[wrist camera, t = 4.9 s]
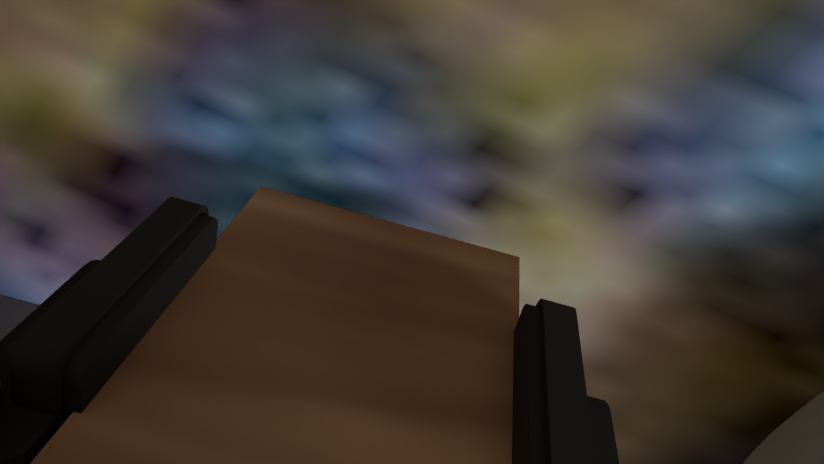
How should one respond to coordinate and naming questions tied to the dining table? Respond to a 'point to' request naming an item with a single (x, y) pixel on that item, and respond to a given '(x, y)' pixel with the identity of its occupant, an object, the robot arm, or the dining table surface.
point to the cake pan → (795, 438)
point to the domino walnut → (316, 351)
